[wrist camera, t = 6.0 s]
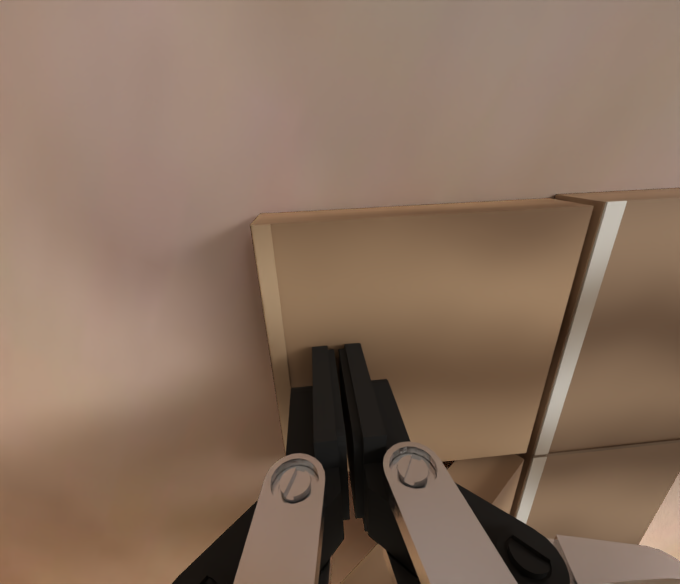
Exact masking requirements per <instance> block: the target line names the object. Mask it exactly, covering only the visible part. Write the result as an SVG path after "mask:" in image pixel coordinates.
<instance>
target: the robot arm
mask: <svg viewBox="0 0 680 584" xmlns="http://www.w3.org/2000/svg"><path fill="white" fill-rule="evenodd" d="M339 368H340V388H341V397H340V389H339V382H338V375H337V367H336V360H335V353H334V349H331V350H328V346H316V347H312V380H313V386H305V387H295V388H291V393H290V406H289V419H288V432H287V445H286V456H285V457H282V458H281V459H280V460H278V461H277V462H275V463H274V464H273V465H272V467H271V468H270V469H269V470H268V472H267V474H266V476H265V479H264V482H263V485H262V489H261V492H260V495H259V499H258V501H257V502H256V503H255V504H253V505H252V506H251V507H250V508H249V509H248V510H247V511H246V512H245V513H244V514H243V515H242V516H241V517H240V518H239V519H238V520H237V521H236V522H235V523H234V524H233V525H232V526H230V527H229V528H228V529H227V530H226V531H225V532H224V533H223V534H222V535H221V536H220V537H219V538H218V539H217V540H216V541H215V542H214V543H213V544H212V545H211V546H210V547H209V548H207V549H206V550H205V551H204V552H203V553H202V554H201V555H200V556H199V557H198V558H197V559H196V560H195V561H194V562H193V563H192V564H191V565H190V566H189V567H188V568H187V569H186V570H184V571H183V572H182V573H181V574H180V575H179V576H178V577H177V579H176V580H175V581H174V582H173V583H172V584H331V571H332V555H333V553H334V552H335V551H336V549H337V548H338V546H339V545H340V544H341V542H342V541H343V539H344V529H343V520H348V519H350V512H349V490H348V467H347V458H348V465H349V473H350V480H351V488H352V495H353V503H354V510H355V517H356V519H357V518H363V522H364V528H365V531H368V535H369V536H370V537H371V538H372V539H373V540H375V541H376V542H377V543H378V544H379V545H381V547H382V552H383V557H384V560H385V563H386V566H387V569H388V572H389V575H390V578H391V581H392V584H680V561H679V560H677V559H676V558H674V557H672V556H671V555H669V554H667V553H665V552H663V551H661V550H659V549H655V548H652V547H648V546H642V545H634V544H627V543H619V542H611V541H603V540H595V539H588V538H580V537H572V536H564V535H556V536H555V539H549V538H546V537H545V536H543V535H542V534H540V533H539V532H538V531H536V530H535V529H533V528H532V527H530V526H528V525H527V524H525V523H523V522H522V521H520V520H518V519H516V518H515V517H513V516H511V515H510V514H508V513H506V512H505V511H503V510H501V509H499V508H498V507H496V506H494V505H493V504H491V503H489V502H488V501H486V500H484V499H482V498H481V497H479V496H477V495H476V494H474V493H472V492H471V491H469V490H467V489H465V488H464V487H462V486H460V485H459V484H457V483H455V482H454V481H453V479H452V477H451V476H450V474H449V472H448V471H447V469H446V468H445V466H444V464H443V463H442V461H441V460H440V458H439V457H438V456H437V455H436V453H435V452H434V451H432V450H431V449H430V448H428V447H427V446H425V445H422V444H420V443H416V442H411V441H410V439H409V436H408V433H407V430H406V428H405V425H404V422H403V419H402V417H401V414H400V411H399V408H398V406H397V403H396V400H395V398H394V395H393V392H392V389H391V387H390V384H389V382H388V380H387V379H380V380H371V379H370V375H369V372H368V368H367V365H366V361H365V358H364V354H363V351H362V347H361V344H360V343H352V344H344V348H343V349H339Z"/></svg>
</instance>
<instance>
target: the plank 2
mask: <svg viewBox="0 0 680 584" xmlns="http://www.w3.org/2000/svg"><path fill="white" fill-rule="evenodd" d="M523 462H524V459H523V458H521V457H520V456H518V455H516V454H510V455H501V456H491V457H482V458H472V459H463V460H456V461H455V462H454V463H453V464H452V465H451V466H450V467H449V468H448V469H447V471H448V472H449V474H450V476H451V477H452V479H453V481H454V482H455V483H457V484H459V485H460V486H462V487H464V488H465V489H467V490H469V491H471V492H472V493H474V494H476V495H477V496H479V497H481V498H482V499H484V500H486V501H488V502H489V503H491V504H493V505H494V506H496V507H498V508H499V509H501V510H503V511H505V512H506V513H508V514H510V510H511V506H512V503H513V499H514V495H515V492H516V488H517V484H518V481H519V477H520V473H521V470H522V466H523ZM340 584H392V581H391V578H390V575H389V572H388V569H387V566H386V563H385V560H384V557H383V552H382V547H381V545H379V544H377V545H376V546H375V547H374V548H373V549H372V550H371V551H370V552H369V553H368V554H367V556H366V557H365V558H364V559H363V560H362V561H361V562H360V563H359V564H358V565H357V566H356V567H355V568H354V569H353V570H352V572H351V573H350V574H349V575H348V576H347V577H346V578H345V579H344V580H343V581H342V582H341V583H340Z"/></svg>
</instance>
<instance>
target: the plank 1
mask: <svg viewBox="0 0 680 584" xmlns="http://www.w3.org/2000/svg"><path fill="white" fill-rule="evenodd" d="M593 207H594V206H592V205H586V204H580V203H574V202H569V201H563V200H557V199H551V198H542V199H523V200H505V201H486V202H468V203H449V204H431V205H412V206H393V207H375V208H356V209H338V210H319V211H301V212H282V213H263V214H259V216H258V217H257V218H256V219H255V220H254V221H253V222H252V223H251V225H250V228H251V235H252V241H253V248H254V254H255V261H256V268H257V274H258V281H259V287H260V294H261V300H262V307H263V313H264V320H265V326H266V333H267V339H268V346H269V352H270V359H271V365H272V372H273V379H274V385H275V392H276V398H277V405H278V411H279V418H280V424H281V431H282V437H283V444H284V450H285V456H286V445H287V432H288V419H289V406H290V393H291V388H295V387H305V386H313V380H312V347H316V346H328V350H331V349H334V353H335V360H336V367H337V375H338V382H339V389H340V397H341V388H340V368H339V349H343V348H344V344H352V343H360V344H361V347H362V351H363V354H364V358H365V361H366V365H367V368H368V372H369V375H370V379H371V380H380V379H387V380H388V382H389V384H390V387H391V389H392V392H393V395H394V398H395V400H396V403H397V406H398V408H399V411H400V414H401V417H402V419H403V422H404V425H405V428H406V430H407V433H408V436H409V439H410V441H411V442H416V443H420V444H422V445H425V446H427V447H428V448H430V449H431V450H432V451H434V452H435V453H436V455H437V456H438V457H439V458H440V460H441V461H442V462H444V461H453V460H463V459H472V458H482V457H491V456H501V455H510V454H520V453H526V451H527V448H528V444H529V441H530V437H531V433H532V430H533V426H534V422H535V419H536V415H537V411H538V408H539V404H540V400H541V397H542V393H543V389H544V386H545V382H546V378H547V375H548V371H549V367H550V364H551V360H552V356H553V353H554V349H555V346H556V342H557V338H558V335H559V331H560V327H561V324H562V320H563V316H564V313H565V309H566V305H567V302H568V298H569V294H570V291H571V287H572V283H573V280H574V276H575V272H576V269H577V265H578V261H579V258H580V254H581V251H582V247H583V243H584V240H585V236H586V232H587V229H588V225H589V221H590V218H591V214H592V210H593ZM347 467H348V472H349V465H348V458H347Z"/></svg>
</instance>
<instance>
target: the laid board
mask: <svg viewBox="0 0 680 584" xmlns="http://www.w3.org/2000/svg"><path fill="white" fill-rule="evenodd" d="M555 199H557V200H563V201H569V202H574V203H580V204H586V205H592V206H594V207H593V210H592V214H591V218H590V221H589V225H588V229H587V232H586V236H585V240H584V243H583V247H582V251H581V254H580V258H579V261H578V265H577V269H576V272H575V276H574V280H573V283H572V287H571V291H570V294H569V298H568V302H567V305H566V309H565V313H564V316H563V320H562V324H561V327H560V331H559V335H558V338H557V342H556V346H555V349H554V353H553V356H552V360H551V364H550V367H549V371H548V375H547V378H546V382H545V386H544V389H543V393H542V397H541V400H540V404H539V408H538V411H537V415H536V419H535V422H534V426H533V430H532V433H531V437H530V441H529V444H528V448H527V451H526V453H520V454H516V455H518V456H520V457H521V458H523V459H524V462H523V466H522V470H521V473H520V477H519V481H518V484H517V488H516V492H515V495H514V499H513V503H512V506H511V510H510V515H511V516H513V517H515V518H516V519H518V520H520V521H522V522H523V523H525V524H527V525H528V526H530V527H532V528H533V529H535V530H536V531H538V532H539V533H540V534H542V535H543V536H545V537H546V538H549V539H555V536H556V535H564V536H572V537H580V538H588V539H595V540H603V541H611V542H619V543H627V544H634V545H639V543H640V541H641V539H642V537H643V536H644V534H645V532H646V530H647V529H648V527H649V525H650V523H651V521H652V520H653V518H654V516H655V514H656V513H657V511H658V509H659V507H660V505H661V504H662V502H663V500H664V498H665V497H666V495H667V493H668V491H669V490H670V488H671V486H672V484H673V482H674V481H675V479H676V477H677V475H678V474H679V472H680V188H667V189H648V190H629V191H610V192H591V193H573V194H556V196H555Z"/></svg>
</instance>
